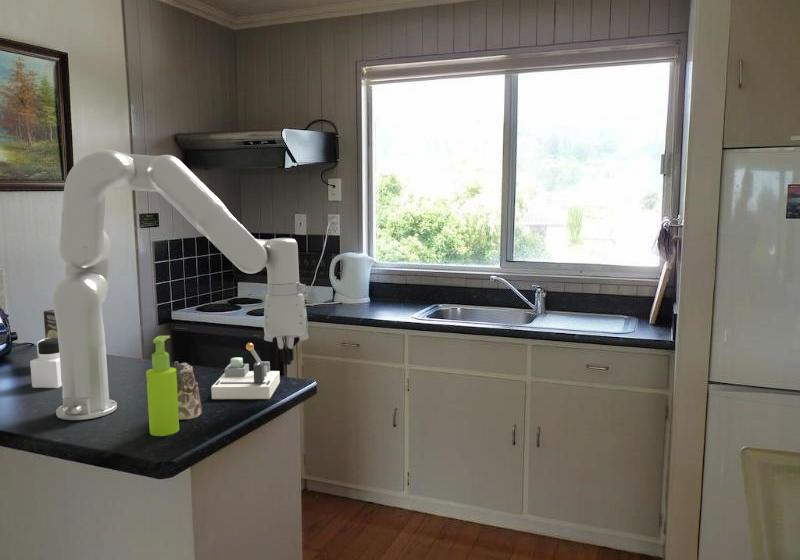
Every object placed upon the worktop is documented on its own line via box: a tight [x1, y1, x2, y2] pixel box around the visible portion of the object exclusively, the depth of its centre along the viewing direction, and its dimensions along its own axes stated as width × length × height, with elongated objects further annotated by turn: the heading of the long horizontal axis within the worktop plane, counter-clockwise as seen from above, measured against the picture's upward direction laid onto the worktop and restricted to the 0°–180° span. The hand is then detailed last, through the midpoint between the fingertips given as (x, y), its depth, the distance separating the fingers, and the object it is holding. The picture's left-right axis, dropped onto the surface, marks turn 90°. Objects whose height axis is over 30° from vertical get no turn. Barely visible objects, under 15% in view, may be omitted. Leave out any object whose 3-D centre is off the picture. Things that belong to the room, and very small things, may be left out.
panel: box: [210, 361, 281, 400], centre depth 169 cm, size 14×14×6 cm
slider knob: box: [253, 361, 265, 383], centre depth 165 cm, size 3×2×4 cm
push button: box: [230, 356, 244, 368], centre depth 173 cm, size 3×3×2 cm
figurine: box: [173, 360, 203, 420], centre depth 151 cm, size 7×7×12 cm
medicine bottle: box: [29, 338, 62, 389], centre depth 174 cm, size 7×7×12 cm
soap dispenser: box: [145, 335, 180, 437], centre depth 140 cm, size 6×7×20 cm
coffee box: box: [43, 309, 58, 339], centre depth 193 cm, size 9×6×16 cm
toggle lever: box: [245, 342, 268, 370], centre depth 173 cm, size 3×2×9 cm, turn 0°
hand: (287, 363), depth 164 cm, fingers closed
